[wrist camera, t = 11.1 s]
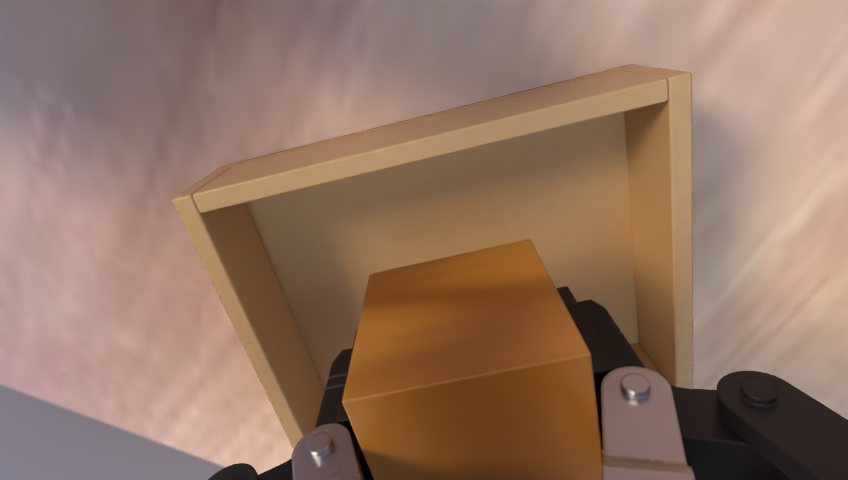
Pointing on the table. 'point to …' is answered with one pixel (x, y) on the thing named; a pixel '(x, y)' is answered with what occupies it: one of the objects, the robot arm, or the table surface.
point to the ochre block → (472, 373)
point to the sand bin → (459, 220)
